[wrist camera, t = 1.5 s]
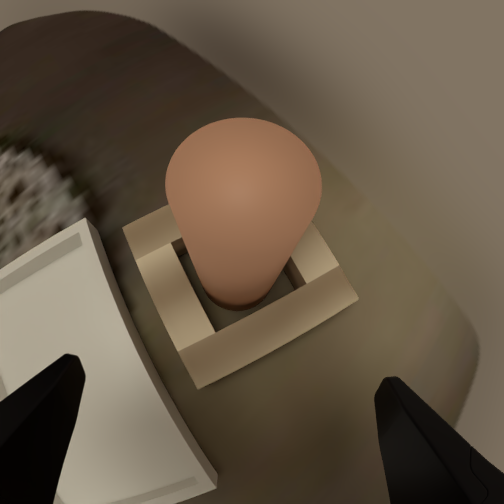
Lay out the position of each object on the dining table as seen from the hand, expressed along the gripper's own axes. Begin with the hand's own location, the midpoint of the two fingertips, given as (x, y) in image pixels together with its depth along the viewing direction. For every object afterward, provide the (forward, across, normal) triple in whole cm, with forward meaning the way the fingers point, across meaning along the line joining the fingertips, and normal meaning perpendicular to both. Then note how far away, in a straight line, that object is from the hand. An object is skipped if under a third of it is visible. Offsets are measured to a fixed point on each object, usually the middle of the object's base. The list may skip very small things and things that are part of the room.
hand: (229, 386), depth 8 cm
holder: (+13, 0, +5) cm, 14 cm away
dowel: (+13, 0, +5) cm, 14 cm away
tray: (+7, +12, +11) cm, 18 cm away
